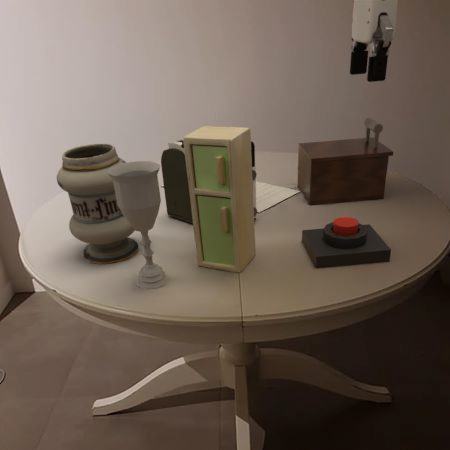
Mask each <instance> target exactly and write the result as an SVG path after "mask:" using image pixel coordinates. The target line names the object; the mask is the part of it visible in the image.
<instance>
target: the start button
mask: <svg viewBox="0 0 450 450" xmlns="http://www.w3.org/2000/svg"><path fill="white" fill-rule="evenodd" d="M332 222H333V233H335V234H338V235H344V236H348V235H355V234H357V233H358V225H359V224H360V223H359V220H358V219H356V218H354V217H350V216H341V217H336V218H335V219H333V221H332Z"/></svg>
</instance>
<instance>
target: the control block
mask: <svg viewBox="0 0 450 450" xmlns="http://www.w3.org/2000/svg"><path fill="white" fill-rule="evenodd" d="M301 242H302V245H303V247H304V249H305V250H306V252H307V254H308V256H309V258H310V260H311V262H312V264H313V266H314V268H315V269H324V268H335V267H347V266H357V265H358V266H359V265H367V264H368V265H369V264H378V263H388V262H390V260H391V253H392V249H391V247H390V246H388V244H387V242H385V240H384V239H382V237H381V236H380V235H379V233H378V232H377V231H376V230H375V229H374V228H373V226H372V225H371V224H369V223H367V224H361V223H359V225H358V233H357V234H355V235H348V236H344V235H338V234H335V233H333V221H332V222H329V223H327V224H325V226H324V227H323V228H314V229H313V228H312V229H302V230H301Z"/></svg>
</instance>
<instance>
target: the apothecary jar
mask: <svg viewBox="0 0 450 450" xmlns="http://www.w3.org/2000/svg"><path fill="white" fill-rule="evenodd" d="M61 159H62V164H61V165H62V166H61V167H60V168H59V170H58V171H57V174H56V182H57V185H58V186H59V187H60V189H61V190H63V191H65V192H67V194H68V198H69V202H70V205H71V210H72V215H71V217H70V220H69V223H68V227H69V232H70V233H71V235H72V236H73V237H75V238H76V240H78V241H80V242H83V243H85V244H87V245H86V246H85V247H84V248H83V251H82V257H83V258H84V259H87V260H88V262H89V263H92V264H97V265H108V264H115V263H120V262H122V261H126V260H127V259H130V258H131V257H133V256H134V255H135V254H136V253H137V252H138V250H139V243H138V241H137V240H135V239H134V238H132V237H130V236H131V235H132V234H133V233H134V232H135V230H134V229H133V227H132V226H131V225H130V224H129V222H128V221H127V220H126V218H125V217H124V216H123V214H122V212H121V210H120V209H119V207H118V205H117V200H116V195H115V189H114V184H113V179H112V178H111V177H110V176H109V174H108V173H107V170H108V169H109V168H111V167H113V166H115V165H118V164H122V163H127V161H126V160H125V159H123V158H121V157H119V155H118V153H117V149H116V147H115V146H114V144H110V143H91V144H84V145H79V146H74V147H72V148H69V149H68V150H65V151H64V152H63V153H62V155H61Z"/></svg>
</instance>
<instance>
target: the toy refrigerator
mask: <svg viewBox="0 0 450 450" xmlns="http://www.w3.org/2000/svg"><path fill="white" fill-rule="evenodd" d="M182 139H183V143H184V151H185V160H186V168H187V176H188V184H189V193H190V201H191V210H192V219H193V223H192V226H193V235H194V244H195V253H196V260H197V266H199V267H204V268H209V269H215V270H221V271H226V272H231V273H238V274H239V273H241V272H243V271H244V269H245V268H246V267H247V266H248V265H249V264H250V262H251V261H252V260H253V259H254V257H255V256H256V233H255V230H256V229H255V220H254V203H253V179H252V154H251V141H252V133H251V128H250V127H243V126H214V125H213V126H212V125H203V126H201V127H199V128H198V129H195V130H193V131H191V132H190V133H187V134H186V135H185V136H183V138H182Z"/></svg>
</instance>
